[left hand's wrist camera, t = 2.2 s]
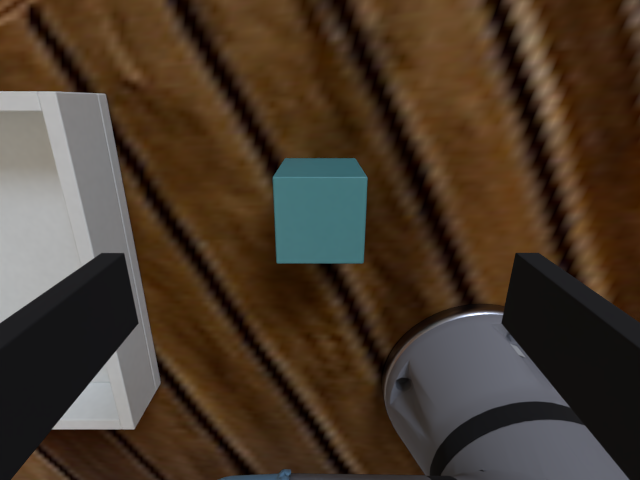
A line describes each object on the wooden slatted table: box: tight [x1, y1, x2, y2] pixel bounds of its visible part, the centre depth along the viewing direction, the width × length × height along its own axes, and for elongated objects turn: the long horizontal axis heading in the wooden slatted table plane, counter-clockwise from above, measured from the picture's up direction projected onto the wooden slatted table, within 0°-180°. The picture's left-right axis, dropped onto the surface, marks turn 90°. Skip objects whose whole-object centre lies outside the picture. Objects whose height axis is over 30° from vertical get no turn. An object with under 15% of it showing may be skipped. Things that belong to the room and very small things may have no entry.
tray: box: [0, 92, 161, 429], centre depth 26 cm, size 24×14×5 cm, turn 0°
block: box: [273, 158, 367, 263], centre depth 23 cm, size 5×5×7 cm
